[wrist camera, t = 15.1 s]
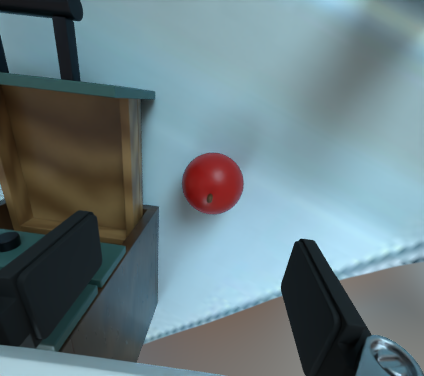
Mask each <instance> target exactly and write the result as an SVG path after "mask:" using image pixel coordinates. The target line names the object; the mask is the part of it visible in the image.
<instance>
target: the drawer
mask: <svg viewBox="0 0 424 376" xmlns="http://www.w3.org/2000/svg"><path fill="white" fill-rule="evenodd" d="M0 13H8V14H17V15H27V16H36V17H45V18H52V20H53V26H54V33H55V40H56V47H57V54H58V61H59V67H60V74H61V79H54V78H45V77H37V76H28V75H19V74H11V73H9V71H8V66H7V62H6V58H5V53H4V49H3V45H2V40H1V36H0V184H1V187H2V191H3V194H4V198H5V201H6V204H7V208H8V211H9V215H10V218H11V221H12V225H13V228H14V230H15V231H22V232H29V233H37V234H44V235H46V234H48V233H49V232H50V231H52V230H53V229H54V228H55V227H57V226H58V225H59V224H61V223H62V222H63V221H65V220H66V219H67V218H69V217H70V216H71V215H73V214H74V213H75V212H76V211H78V210H82V211H90V212H93V214H94V215H95V216H96V217H97V221H98V229H99V236H100V242H102V243H109V244H116V245H121V244H122V243H123V242H124V240H125V239H126V238H127V236H128V235H129V234H130V232H131V231H132V230H133V228H134V227H135V226H136V224H137V223H138V222H139V220H140V219H141V218H142V216H143V197H142V144H141V99H155V91H149V90H142V89H135V88H128V87H121V86H113V85H105V84H96V83H88V82H80V72H79V64H78V55H77V46H76V38H75V29H74V22H73V21H81V20H82V18H83V9H82V5H81V2H80V0H0Z"/></svg>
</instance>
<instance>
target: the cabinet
mask: <svg viewBox="0 0 424 376" xmlns="http://www.w3.org/2000/svg"><path fill="white" fill-rule="evenodd" d="M158 227H159V207H158V206H150V205H143V216H142V218H141V219H140V220H139V222H138V223H137V224H136V226H135V227H134V228H133V230H132V231H131V232H130V234H129V235H128V236H127V238H126V239H125V240H124V242H123V243H122V244H121V245H116V244H109V243H102V242H100V244H101V252H102V265H101V267H100V268H99V270H98V271H97V272H96V274H95V275H94V276H93V278H92V279H91V280H90V282H89V283H88V284H87V286H86V287H85V288H84V290H83V291H82V293H81V294H80V295H79V297H78V298H77V299H76V301H75V302H74V303H73V305H72V306H71V307H70V309H69V310H68V311H67V313H66V314H65V315H64V317H63V318H62V319H61V321H60V322H59V323H58V325H57V326H56V328H55V329H54V330H53V332H52V333H51V334H50V335H49V337H47V338H46V339H43V340H42V341H41V343H40V344H39V345H38V346H37V348H36V349H40V350H47V351H55V352H62V353H69V354H77V355H84V356H92V357H99V358H106V359H113V360H121V361H128V362H135V363H137V360H138V357H139V354H140V351H141V348H142V346H143V343H144V340H145V337H146V334H147V331H148V329H149V326H150V323H151V320H152V317H153V315H154V312H155V309H156V306H157V299H158ZM44 236H45V235H44V234H37V233H29V232H22V231H15V230H14V228H13V225H12V221H11V218H10V215H9V211H8V208H7V204H6V201H5V199H3V200H1V201H0V270H1V269H2V268H3V267H4V266H6V265H7V264H8V263H10V262H11V261H12V260H14V259H15V258H16V257H18V256H19V255H20V254H21V253H23V252H24V251H25V250H27V249H28V248H29V247H31V246H32V245H33V244H35V243H36V242H37V241H38V240H40V239H41V238H42V237H44ZM19 347H21V345H20V346H19ZM23 348H26V347H23ZM32 349H33V348H32Z"/></svg>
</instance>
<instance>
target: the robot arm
mask: <svg viewBox="0 0 424 376" xmlns="http://www.w3.org/2000/svg"><path fill="white" fill-rule="evenodd" d="M101 265H102V252H101V244H100V236H99V229H98V221H97V217H96V216H95V215H94V214H93V212H90V211H82V210H78V211H76V212H75V213H74V214H73V215H71V216H70V217H69V218H67V219H66V220H65V221H63V222H62V223H61V224H59V225H58V226H57V227H55V228H54V229H53V230H52V231H50V232H49V233H48V234H46V235H45V236H44V237H42V238H41V239H40V240H38V241H37V242H36V243H35V244H33V245H32V246H31V247H29V248H28V249H27V250H25V251H24V252H23V253H21V254H20V255H19V256H18V257H16V258H15V259H14V260H12V261H11V262H10V263H8V264H7V265H6V266H4V267H3V268H2V269H1V270H0V376H225V375H218V374H211V373H205V372H198V371H191V370H184V369H177V368H170V367H162V366H156V365H149V364H142V363H135V362H128V361H121V360H113V359H106V358H99V357H92V356H84V355H77V354H69V353H62V352H55V351H47V350H40V349H36V348H37V346H38V345H39V344H40V343H41V341H42V340H43V339H46V338H47V337H49V335H50V334H51V333H52V332H53V330H54V329H55V328H56V326H57V325H58V323H59V322H60V321H61V319H62V318H63V317H64V315H65V314H66V313H67V311H68V310H69V309H70V307H71V306H72V305H73V303H74V302H75V301H76V299H77V298H78V297H79V295H80V294H81V293H82V291H83V290H84V288H85V287H86V286H87V284H88V283H89V282H90V280H91V279H92V278H93V276H94V275H95V274H96V272H97V271H98V270H99V268H100V267H101ZM281 292H282V295H283V299H284V303H285V306H286V310H287V314H288V317H289V321H290V325H291V328H292V332H293V335H294V339H295V343H296V346H297V350H298V353H299V357H300V361H301V364H302V368H303V371H304V374H305V375H306V376H424V374H423V372H422V370H421V368H420V366H419V365H418V363H417V362H416V361H415V359H414V358H413V357H412V356H411V355H410V354H409V353H408V352H407V351H406V350H405V349H404V348H402V347H401V346H400V345H398V344H397V343H396V342H394V341H392V340H390V339H388V338H386V337H383V336H379V335H371V333H370V331H369V330H368V328H367V326H366V325H365V323H364V322H363V320H362V318H361V316H360V315H359V313H358V311H357V310H356V308H355V306H354V305H353V303H352V301H351V300H350V298H349V297H348V295H347V293H346V292H345V290H344V288H343V287H342V285H341V283H340V282H339V280H338V278H337V277H336V275H335V274H334V272H333V271H332V269H331V267H330V266H329V264H328V262H327V261H326V259H325V257H324V256H323V254H322V252H321V251H320V249H319V247H318V246H317V244H316V242H315V241H314V240H308V239H300V240H299V241H296V242H295V243H294V246H293V249H292V252H291V256H290V259H289V262H288V265H287V268H286V271H285V274H284V277H283V280H282V283H281ZM20 345H21V347H19V346H20ZM23 347H26V348H23ZM32 348H33V349H32Z"/></svg>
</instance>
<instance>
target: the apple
mask: <svg viewBox="0 0 424 376" xmlns="http://www.w3.org/2000/svg"><path fill="white" fill-rule="evenodd" d="M182 189H183V193H184V196H185V198H186V200H187V201H188V202H189V204H190V205H191V206H192V207H193V208H195V209H196V210H198V211H200V212H202V213H206V214H220V213H223V212H226V211H228V210H229V209H231V208H232V207H233V206H234V205H235V204H236V203H237V202H238V200H239V199H240V197H241V194H242V191H243V176H242V173H241V170H240V168H239V167H238V165H237V164H236V163H235V162H234V161H233V160H232V159H231V158H229V157H227V156H225V155H223V154H219V153H206V154H203V155H200V156H198V157H196V158H195V159H194V160H192V161H191V162H190V163H189V165H188V166H187V168H186V169H185V172H184V174H183V178H182Z"/></svg>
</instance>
